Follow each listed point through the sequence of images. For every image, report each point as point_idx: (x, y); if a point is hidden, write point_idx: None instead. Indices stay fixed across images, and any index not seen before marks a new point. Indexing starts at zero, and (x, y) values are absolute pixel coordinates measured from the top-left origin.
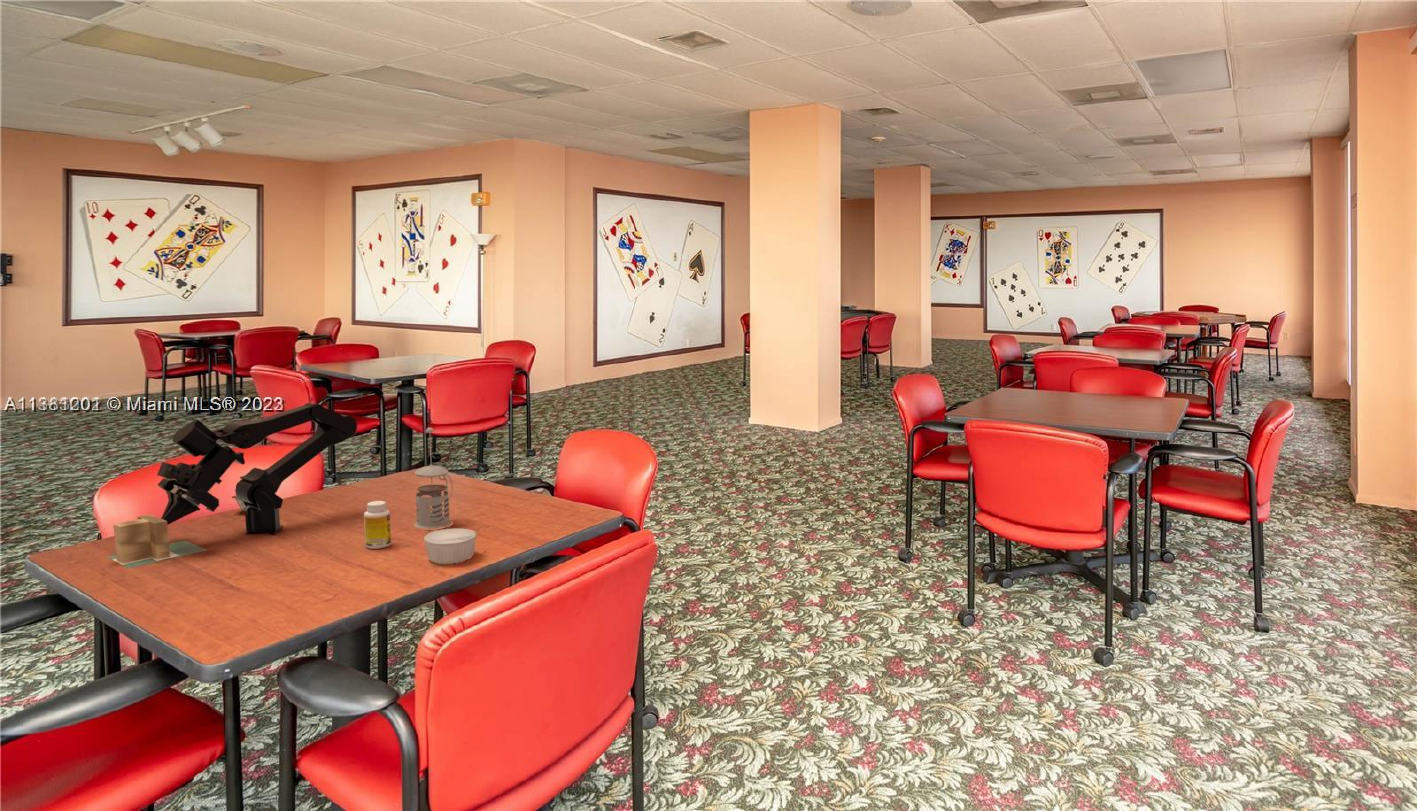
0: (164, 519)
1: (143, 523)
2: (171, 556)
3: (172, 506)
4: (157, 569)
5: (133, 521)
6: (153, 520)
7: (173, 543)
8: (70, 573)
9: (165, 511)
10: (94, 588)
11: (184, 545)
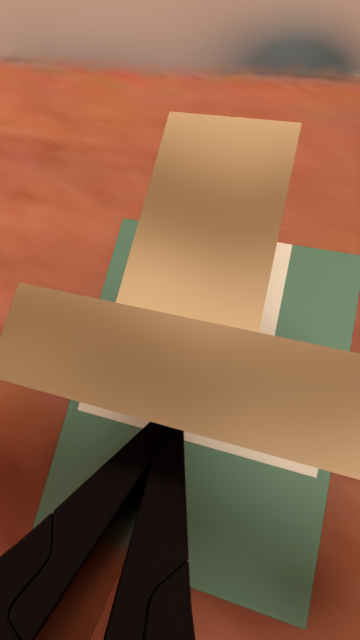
0: (123, 450)
1: (127, 264)
2: None
3: (22, 584)
4: (37, 277)
5: (234, 241)
6: (107, 337)
7: (297, 551)
8: (287, 108)
9: (157, 530)
10: (57, 87)
11: (205, 545)
